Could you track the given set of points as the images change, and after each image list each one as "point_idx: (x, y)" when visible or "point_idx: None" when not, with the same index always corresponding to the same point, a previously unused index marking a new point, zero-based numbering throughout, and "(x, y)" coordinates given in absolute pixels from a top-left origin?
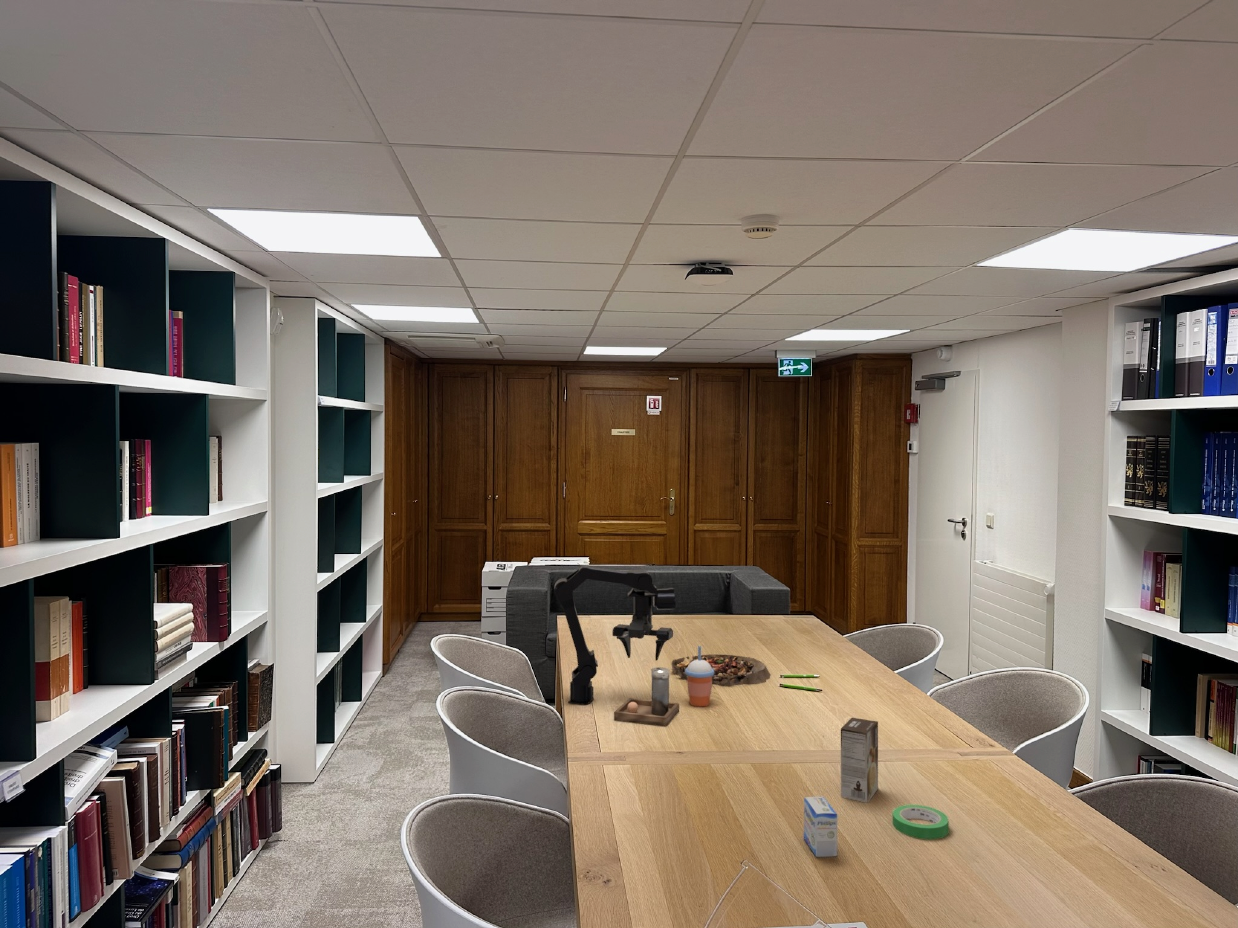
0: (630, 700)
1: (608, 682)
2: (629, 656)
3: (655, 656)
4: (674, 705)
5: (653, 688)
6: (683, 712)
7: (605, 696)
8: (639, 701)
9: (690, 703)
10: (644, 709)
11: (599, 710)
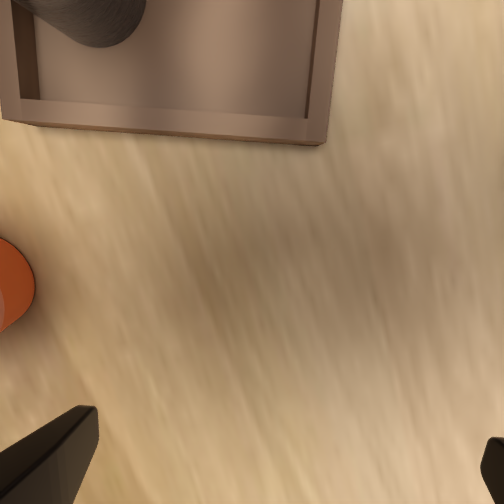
0: (309, 99)
1: None
2: (500, 461)
3: (58, 441)
4: (13, 66)
5: None
6: None
7: (473, 271)
8: (253, 115)
9: (20, 254)
10: (204, 41)
11: (474, 14)
